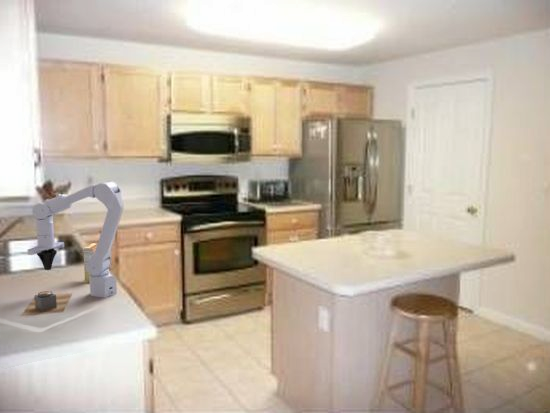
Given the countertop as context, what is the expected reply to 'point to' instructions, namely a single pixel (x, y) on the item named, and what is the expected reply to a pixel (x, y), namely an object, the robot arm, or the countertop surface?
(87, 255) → the candy box
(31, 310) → the parts board
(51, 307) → the knob
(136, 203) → the countertop surface
